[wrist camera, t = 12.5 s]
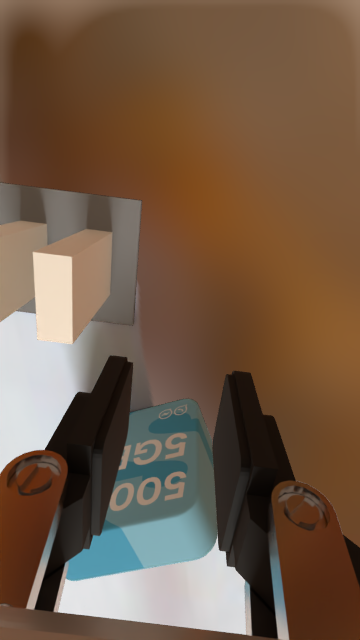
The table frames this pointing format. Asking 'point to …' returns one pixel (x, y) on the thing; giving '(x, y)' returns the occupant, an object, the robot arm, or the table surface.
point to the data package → (157, 496)
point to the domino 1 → (18, 263)
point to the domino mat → (74, 216)
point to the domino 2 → (71, 283)
